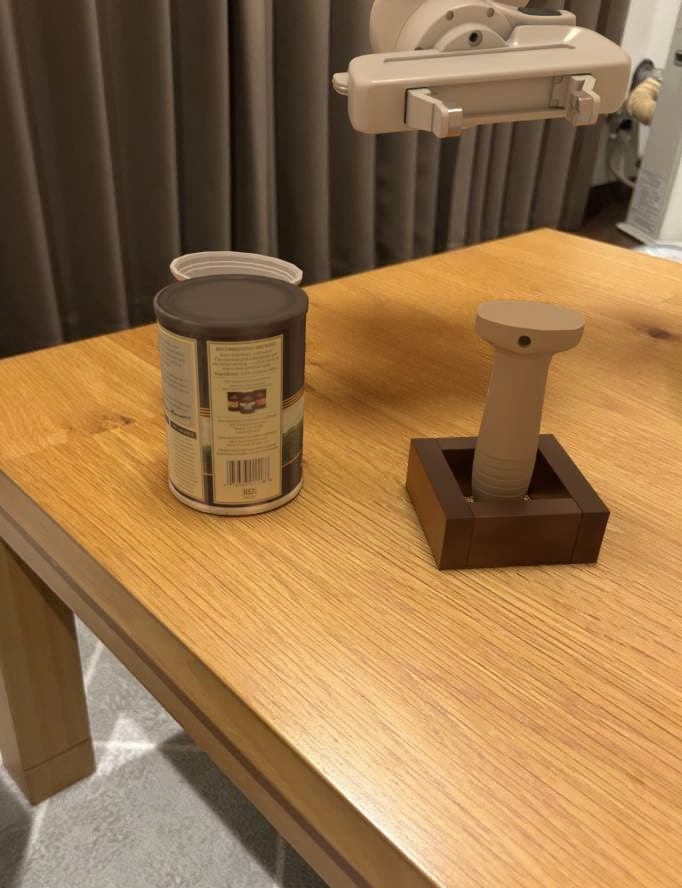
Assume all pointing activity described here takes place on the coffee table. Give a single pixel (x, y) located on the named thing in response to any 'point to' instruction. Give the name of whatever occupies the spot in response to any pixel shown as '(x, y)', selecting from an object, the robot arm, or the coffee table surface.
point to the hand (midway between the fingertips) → (520, 118)
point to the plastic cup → (233, 266)
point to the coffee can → (233, 390)
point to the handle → (517, 390)
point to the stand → (504, 509)
